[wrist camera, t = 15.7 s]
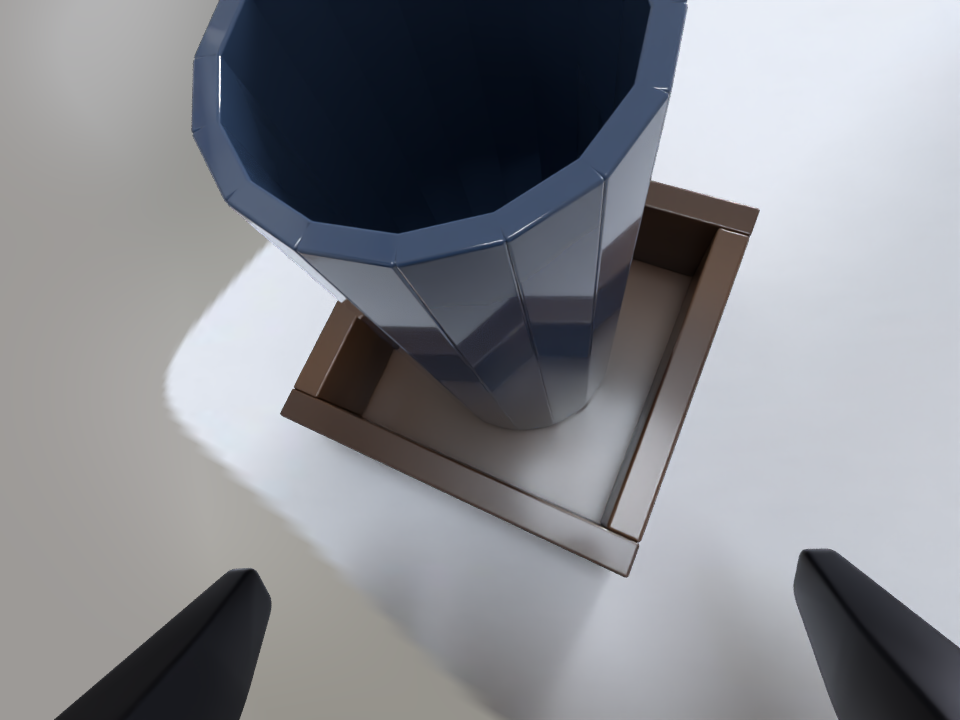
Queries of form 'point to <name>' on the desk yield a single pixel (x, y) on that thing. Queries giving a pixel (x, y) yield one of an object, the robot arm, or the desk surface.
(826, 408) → the desk surface
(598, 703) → the desk surface
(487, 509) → the holder
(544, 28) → the tapered cup
